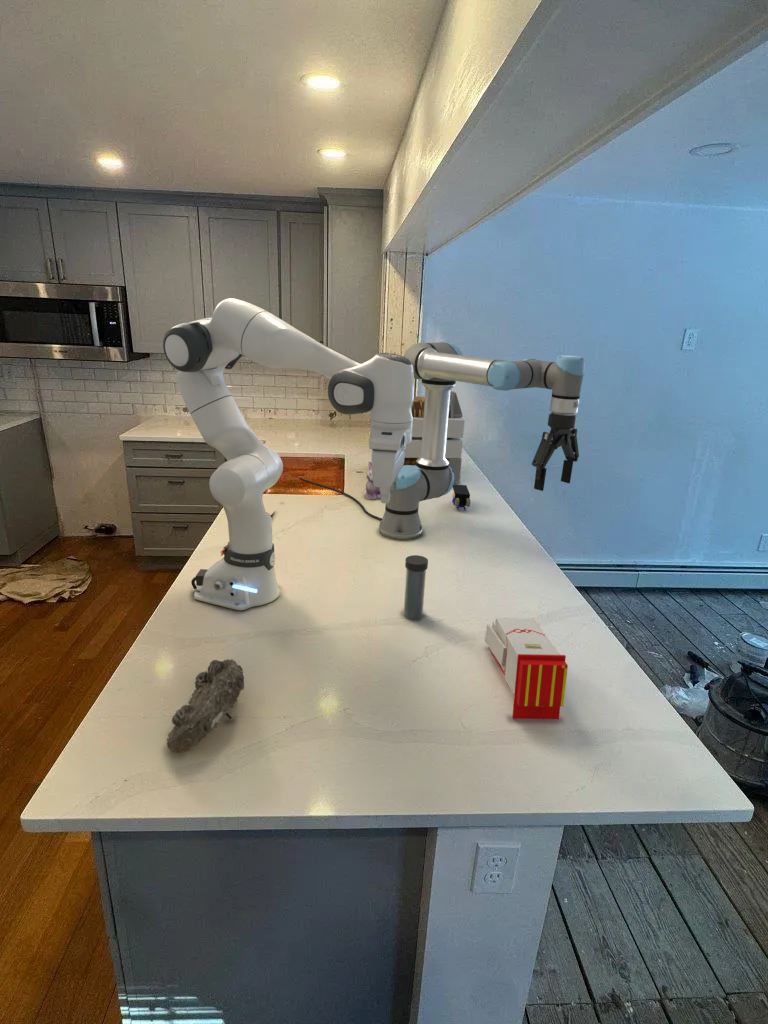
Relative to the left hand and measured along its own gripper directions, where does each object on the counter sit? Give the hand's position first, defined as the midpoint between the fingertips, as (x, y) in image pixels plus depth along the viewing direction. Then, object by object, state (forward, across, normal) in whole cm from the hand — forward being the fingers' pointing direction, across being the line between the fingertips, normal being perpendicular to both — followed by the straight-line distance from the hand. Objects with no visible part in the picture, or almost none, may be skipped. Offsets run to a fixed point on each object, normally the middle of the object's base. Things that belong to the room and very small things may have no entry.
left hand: (389, 495), depth 124 cm
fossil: (+36, +35, -27) cm, 57 cm away
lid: (+21, -13, +6) cm, 25 cm away
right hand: (+9, -48, +41) cm, 63 cm away
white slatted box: (+36, -148, -8) cm, 152 cm away
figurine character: (+36, -104, +13) cm, 110 cm away
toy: (+36, +8, +31) cm, 49 cm away
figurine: (+36, -106, -23) cm, 114 cm away
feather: (+35, -73, -55) cm, 98 cm away
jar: (+36, -13, +5) cm, 39 cm away
